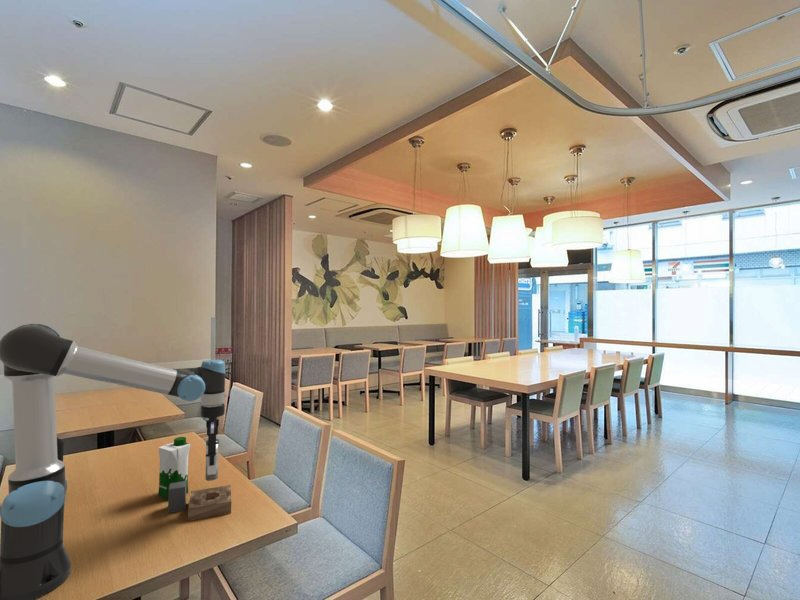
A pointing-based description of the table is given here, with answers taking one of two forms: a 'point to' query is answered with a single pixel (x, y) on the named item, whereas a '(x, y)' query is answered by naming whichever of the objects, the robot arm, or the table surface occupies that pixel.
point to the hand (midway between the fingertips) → (211, 471)
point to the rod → (215, 476)
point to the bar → (177, 497)
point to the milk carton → (173, 465)
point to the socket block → (209, 502)
